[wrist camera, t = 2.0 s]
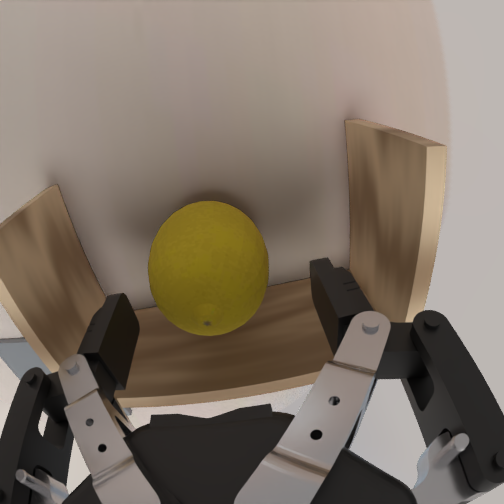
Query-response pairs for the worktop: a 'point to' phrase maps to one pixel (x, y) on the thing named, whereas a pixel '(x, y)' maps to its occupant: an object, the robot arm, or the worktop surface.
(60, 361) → the open u-shaped oak frame
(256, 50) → the worktop surface
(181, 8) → the worktop surface
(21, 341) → the slate coaster
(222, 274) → the lemon
